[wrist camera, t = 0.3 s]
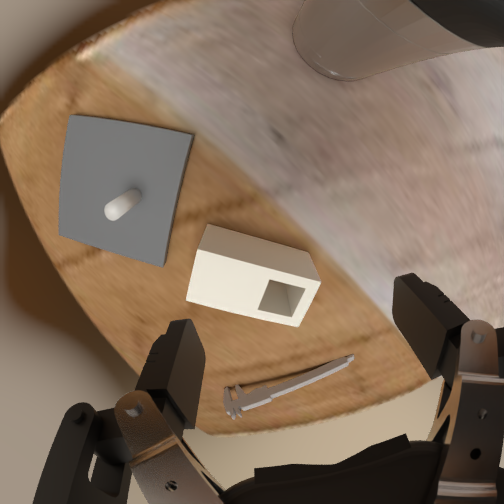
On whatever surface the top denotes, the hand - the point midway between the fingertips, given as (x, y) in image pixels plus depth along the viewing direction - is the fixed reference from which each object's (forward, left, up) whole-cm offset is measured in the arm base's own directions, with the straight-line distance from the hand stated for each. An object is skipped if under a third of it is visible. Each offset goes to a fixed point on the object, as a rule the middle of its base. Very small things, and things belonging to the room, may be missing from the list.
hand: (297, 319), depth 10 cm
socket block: (+7, +1, -18) cm, 19 cm away
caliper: (+24, +12, -19) cm, 33 cm away
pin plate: (+3, -15, -18) cm, 24 cm away
